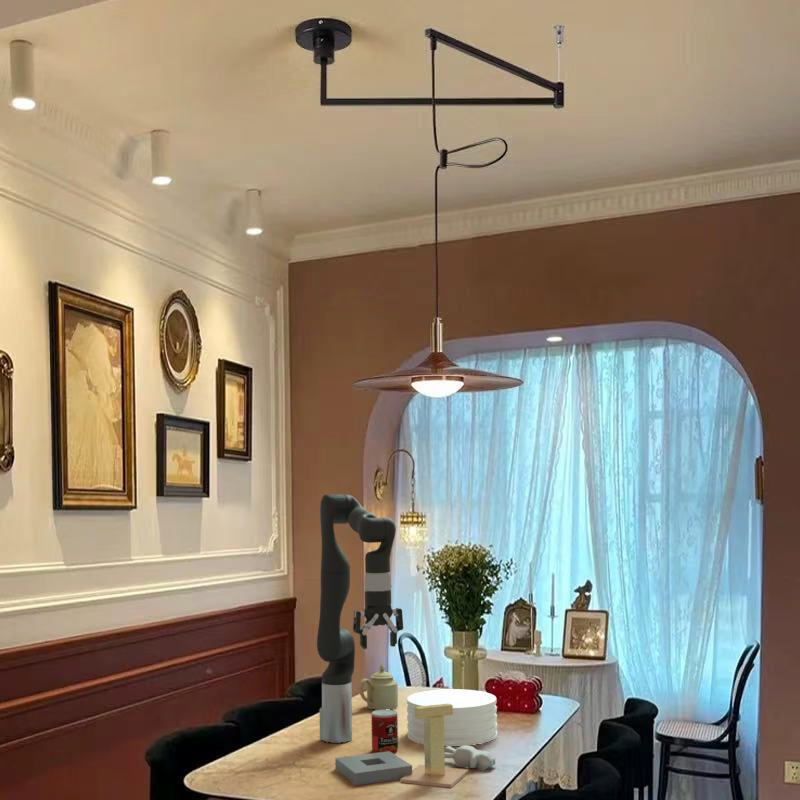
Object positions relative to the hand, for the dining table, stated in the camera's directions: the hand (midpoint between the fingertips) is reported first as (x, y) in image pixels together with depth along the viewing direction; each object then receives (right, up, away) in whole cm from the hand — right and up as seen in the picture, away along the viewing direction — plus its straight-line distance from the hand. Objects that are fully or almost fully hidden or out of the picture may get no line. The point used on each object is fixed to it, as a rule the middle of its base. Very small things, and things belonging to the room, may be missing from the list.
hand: (378, 647), depth 259 cm
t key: (+15, -30, -15) cm, 36 cm away
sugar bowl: (-1, -40, +69) cm, 80 cm away
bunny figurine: (+25, -32, -5) cm, 41 cm away
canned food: (+2, -34, +12) cm, 36 cm away
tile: (+15, -30, -15) cm, 37 cm away
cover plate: (-1, -31, -10) cm, 33 cm away
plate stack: (+22, -36, +29) cm, 51 cm away
